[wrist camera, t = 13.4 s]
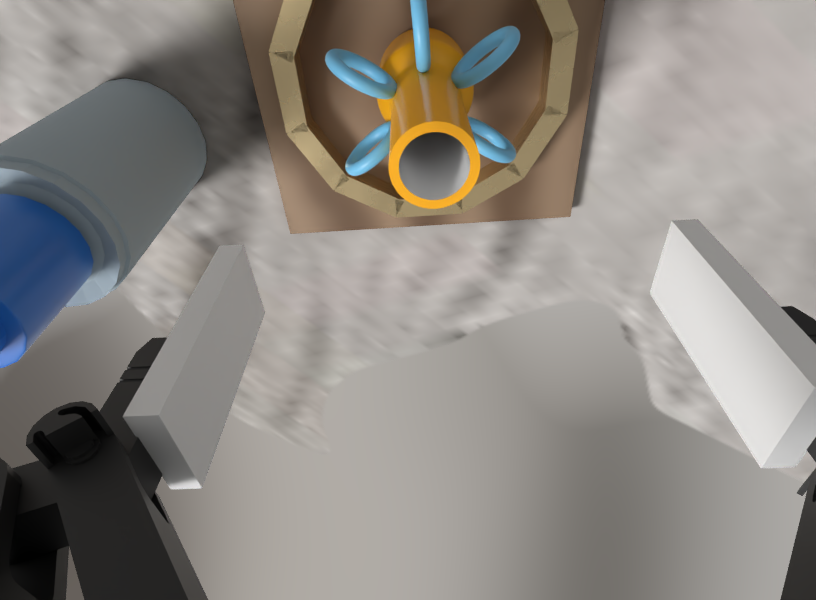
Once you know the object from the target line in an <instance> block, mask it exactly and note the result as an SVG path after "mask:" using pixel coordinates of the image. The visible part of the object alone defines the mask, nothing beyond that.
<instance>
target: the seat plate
mask: <svg viewBox="0 0 816 600" xmlns="http://www.w3.org/2000/svg"><path fill="white" fill-rule="evenodd" d="M567 1H568V4H569V6H570V9H571V11H572V14H573V16H574V19H575V21H576V24H577V26H578V30H579V31H578V39H577V46H576V54H575V61H574V68H573V76H572V83H571V90H570V98H569V105H568V112H567V114H566V115H567V116H566V117H565V119H564V120H563V122H562V123H561V125H560V126H559V127H558V129H557V130H556V132H555V133H554V135H553V136H552V138H551V139H550V141H549V142H548V144H547V145H546V146H545V148H544V149H543V151H542V152H541V154H540V155H539V157H538V158H537V160H536V161H535V163H534V164H533V166H532V167H531V168H530V170H529V171H528V173H527V174H526V176H525V177H524V178H523V177H522V178H523V179H522V180H520V181H519V182H517V183H515V184H513V185H512V186H510V187H508V188H506V189H505V190H503V191H501V192H499V193H498V194H496V195H494V196H492V197H491V198H489V199H487V200H485V201H484V202H482V203H480V204H478V205H477V206H475V207H473V208H471V209H470V210H468V211H466V212H464V213H463V212H462V214H447V215H431V216H415V217H399V218H397V216H396V217H393V216H391V215H389V214H386V213H384V212H382V211H379V210H377V209H375V208H372V207H370V206H368V205H366V204H363V203H361V202H359V201H356V200H354V199H352V198H349V197H347V196H345V195H342V194H340V193H338V192H335V191H334V190H333V189H332V188H331V187H330V186H329V185H328V183H327V182H326V181H325V180H324V179H323V177H322V176H321V175H320V174H319V172H318V171H317V170H316V169H315V168H314V166H313V165H312V164H311V163H310V162H309V160H308V159H307V158H306V157H305V156H304V154H303V153H302V152H301V151H300V150H299V148H298V147H297V146H296V145H295V144H294V142H293V141H292V140H291V139H290V138H289V136H288V135H287V133H286V130H285V125H284V121H283V116H282V111H281V107H280V102H279V98H278V93H277V89H276V84H275V80H274V75H273V71H272V66H271V62H270V57H269V48H270V45H271V42H272V38H273V35H274V31H275V28H276V24H277V21H278V17H279V14H280V11H281V7H282V4H283V0H233V2H234V7H235V11H236V15H237V19H238V23H239V27H240V31H241V35H242V39H243V43H244V47H245V51H246V55H247V59H248V63H249V67H250V71H251V75H252V80H253V84H254V88H255V92H256V96H257V100H258V104H259V108H260V112H261V116H262V120H263V124H264V128H265V132H266V136H267V140H268V144H269V148H270V153H271V157H272V161H273V165H274V169H275V173H276V177H277V181H278V185H279V189H280V193H281V197H282V201H283V205H284V209H285V213H286V217H287V221H288V225H289V230H290V234H295V233H312V232H328V231H344V230H361V229H377V228H393V227H410V226H426V225H442V224H459V223H475V222H491V221H508V220H524V219H540V218H557V217H570V215H571V209H572V203H573V196H574V190H575V184H576V178H577V172H578V165H579V159H580V153H581V147H582V140H583V134H584V128H585V122H586V115H587V109H588V103H589V97H590V90H591V84H592V78H593V72H594V66H595V59H596V53H597V47H598V41H599V34H600V28H601V22H602V16H603V9H604V3H605V0H567ZM426 3H427V13H428V25H429V28H434V29H437V30H440V31H442V32H444V33H446V34H447V35H449V36H450V37H451V38H452V39H453V40H454V41H455V42H456V43H457V44H458V45H459V47H460V48H461V50H462V52H463V54H464V55H465V54H466V53H467V52H468V51H469V50H470V49H471V48H473V47H474V46H475V45H476V44H477V43H478V42H480V41H481V40H482V39H484V38H485V37H486V36H488V35H489V34H491V33H493V32H494V31H496V30H498V29H500V28H503V27H506V26H514V27H516V28H518V30H519V32H520V41H519V44H518V46H517V48H516V49H515V51H514V52H513V53H512V55H511V56H510V57H509V58H508V59H507V60H506V61H505V62H504V63H503V64H502V65H501V66H500V67H499V68H498V69H497V70H495V71H494V72H493V73H492V74H490V75H489V76H488V77H486V78H485V79H483V80H482V81H480V82H478V83H476V84H475V85H474V94H473V101H472V104H471V108H470V110H469V112H468V114H467V116H469V117H472V118H475V119H477V120H480V121H482V122H484V123H485V124H487V125H489V126H490V127H492V128H494V129H495V130H497V131H498V132H499V133H501V134H502V135H503V136H504V137H505V138H507V139H508V140H509V141H510V142H511V144H512V142H513V141H514V139H515V137H516V136H517V134H518V133H519V131H520V130H521V128H522V126H523V125H524V123H525V122H526V120H527V119H528V117H529V115H530V114H531V112H532V111H533V109H534V108H535V106H536V104H537V103H538V101H539V93H540V83H541V73H542V63H543V53H544V42H545V30H544V28H543V25H542V23H541V21H540V18H539V16H538V14H537V12H536V9H535V7H534V5H533V2H532V0H426ZM411 29H413V26H412V15H411V4H410V0H315V3H314V6H313V9H312V12H311V15H310V18H309V21H308V24H307V27H306V30H305V34H304V37H303V40H302V43H301V46H300V49H299V52H300V58H301V63H302V69H303V74H304V80H305V85H306V90H307V96H308V101H309V107H310V112H311V117H312V118H313V119H314V121H315V122H316V123H317V125H318V126H319V127H320V128H321V130H322V131H323V132H324V134H325V135H326V136H327V137H328V139H329V140H330V141H331V142H332V144H333V145H334V146H335V148H336V149H337V150H338V151H339V153H340V154H341V155H342V157H343V158H344V159H345V160H346V161H347V159H348V157H349V155H350V154H351V152H352V151H353V150H354V148H355V147H356V146H357V145H358V144H359V143H360V142H361V141H362V140H363V139H364V138H365V137H366V136H367V135H368V134H369V133H370V132H372V131H373V130H374V129H376V128H377V127H378V126H380V125H382V124H383V123H385V122H386V121H385V119H384V118H383V116H382V114H381V112H380V109H379V106H378V102H377V98H375V97H372V96H369V95H367V94H364V93H362V92H360V91H358V90H356V89H354V88H352V87H351V86H349V85H347V84H346V83H344V82H343V81H342V80H340V79H339V78H338V77H336V76H335V75H334V74H333V73H332V72H331V71H330V69H329V68H328V67H327V65H326V62H325V56H326V54H327V52H328V51H329V50H331V49H343V50H347V51H350V52H353V53H355V54H357V55H360V56H362V57H364V58H366V59H367V60H369V61H371V62H373V63H374V64H376V65H377V66H380V62H381V59H382V56H383V54H384V52H385V50H386V49H387V47H388V46H389V44H390V43H391V42H392V41H393V40H394V39H395V38H396V37H398V36H399V35H400V34H402V33H404V32H406V31H408V30H411ZM496 48H497V47H496ZM496 48H495V49H496ZM495 49H493V50H492V51H490V52H489V53H487V54H486V55H485V56H484V57H482V58H481V59H480V60H479V61H478V62H477V63H476V64H475V65H474V66H473V67H475V66H476V65H478V64H479V63H480V62H482V61H483V60H484V59H486V58H487V57H488V56H489V55H490V54H491V53H492V52H493V51H494V50H495ZM473 67H472V68H473ZM350 68H351V67H350ZM472 68H471V69H472ZM351 69H353V68H351ZM353 70H354V71H356V72H358V73H359V74H361V75H363V76H365V77H367V78H369V79H371V80H373V79H372V78H370V77H368V76H367V75H365V74H363V73H362V72H360V71H358V70H356V69H353ZM373 81H374V80H373ZM477 135H478V134H477ZM479 136H480V135H479ZM480 137H481V138H483V137H482V136H480ZM483 139H484V140H486V141H488V140H487V139H485V138H483ZM382 140H383V139H382ZM382 140H381V141H382ZM381 141H380V142H381ZM380 142H378V143H377V144H376V145H375V146H374V147H373V148H372V149H371V150H370V151H369V152H368V153H367V154H369V153H370V152H371V151H372V150H373V149H374V148H375V147H376V146H377V145H378V144H379V143H380ZM488 142H489V141H488ZM489 143H491V142H489ZM491 144H492V143H491ZM367 154H366V155H367ZM366 155H365V156H366ZM479 155H480V169H481V168H483V167H484V166H486V165H488V164H489V163H491V162H493V161H494V160H491V159H489V158H487V157H485V156H483V155H481V154H480V153H479ZM365 156H364V157H365ZM364 157H363V158H364ZM366 173H369V174H371V175H373V176H375V177H377V178H380V179H382V180H384V181H386V182H388V183H391V184H392V182H391V179H390V175H389V154H388V155H387V156H386V157H385V158H384V159H383V160H382V161H381V162H379V163H378V164H377V165H376V166H375V167H373V168H372V169H370V170H369V171H367V172H366Z"/></svg>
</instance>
